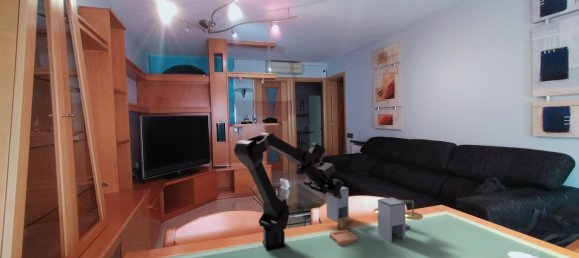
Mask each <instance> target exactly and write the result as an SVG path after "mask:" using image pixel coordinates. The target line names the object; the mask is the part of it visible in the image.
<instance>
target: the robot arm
mask: <svg viewBox="0 0 579 258" xmlns="http://www.w3.org/2000/svg"><path fill="white" fill-rule="evenodd" d="M269 148H270V149H272V150H273V151H275V152H277V153H279V154H281V155H283V156H285V158H286V160H288V161H289V162H290V163H291V164H293V165H299V166H298V167H296V175H299V176H301V175H302V176H305V177H306V178H305V180H304V181H303V185H304V186H305V187H306V188H309V189H311V190H313V191H315V192H319V193H321V194H324V195H326V192H327V193H328V194H329V195H331V196H333V197H336V198H338V199H341V198H342V196H341V193H340V189H341V188H342V186H343V187H344V183H343V182H342V181H341V180H339V179H336V178H332V179H331V181H330V180H329V179H330V175H331V174H333V173H335V172H336V169H335V167H334V163H330V162H322V159H323V158H324V156H325V153H326V152H327V150H326V148H325V147H323V146H322V145H320V144H318V142H313V143H312V144H311V145H310V148H309V150H308V149H303V148H298V147H295V146H294V145H292V144H290V143H288V142H286V141H284V140H283V139H281V138H279V137H278V136H276V135H275V134H274V133H272V132H261V133H260V134H258V135H256V136H252V137H249V138H245V139H241V140H238V141H236V144H235V146H234V148H233V151H234V154H235V156H236V158H237V160H239V161H240V163H241V164H243V165H244V166H245V167H246V168H247V170H248V171H249V173H250V175H251V177H252V180H253V182H254V184H255V187H256V188H257V191H258V193H259V195H260V197H261V198H262V202H263V205H262V209H263V213H262V215H261V216H260V218H259V220H258V224H259V226H260V227H262V228H263V229H262V230H263V233H262V235H263V240H262V245H263V247H264V248H265V251H271V250H275V249H283V248H285V247H286V245H285V242H286V241H285V239H286V238H285V234H286V233H285V230H286V229H287V226H288V222H289V217H290V211H289V209H290V206H289V205H288V203H287V201H286V200H287V199H285V198H282V197H279V196H278V195H277V193H276V191H275V189H274V186H273V184H272V182H271V180H270V177H269V175H268V173H267V171H266V169H265V167H264V164H263V163H264V162H263V159H264V153H265V152H267V150H269ZM316 164H317V165H316ZM326 187H327V188H326Z"/></svg>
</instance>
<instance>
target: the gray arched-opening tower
mask: <svg viewBox="0 0 579 258" xmlns="http://www.w3.org/2000/svg"><path fill="white" fill-rule="evenodd" d="M400 200H401V199H397V198H396V197H388V198H387V197H385V198H379V199H377V208H378V214H377V236H379V237H381V238H383V239H384V240H386V241H387V242H388V243H393V234H394V235H396V236H398V237H400V238H401V239H402V240H406V230H405V224H406V217H405V212H406V203H405V202H402V201H400Z"/></svg>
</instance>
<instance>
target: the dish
mask: <svg viewBox="0 0 579 258" xmlns="http://www.w3.org/2000/svg"><path fill="white" fill-rule="evenodd" d="M329 238H330V239H331V240H332V241H334V243H336V244H337V245H338V246H345V245H349V244H355V243H357V242H358V237H357V236H356V235H355V234H353V233H352V232H351V231H348V230H342V231H341V230H338V231H331V232H329Z"/></svg>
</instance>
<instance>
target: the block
mask: <svg viewBox="0 0 579 258" xmlns="http://www.w3.org/2000/svg"><path fill="white" fill-rule="evenodd" d="M338 228H339V229H338ZM337 229H338V230H339V231H342V230H348V231H349V232H351V231H353V220H352V219H351V218H350V217H349V218H348V217H343V216H340V217H339V218H337Z"/></svg>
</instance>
